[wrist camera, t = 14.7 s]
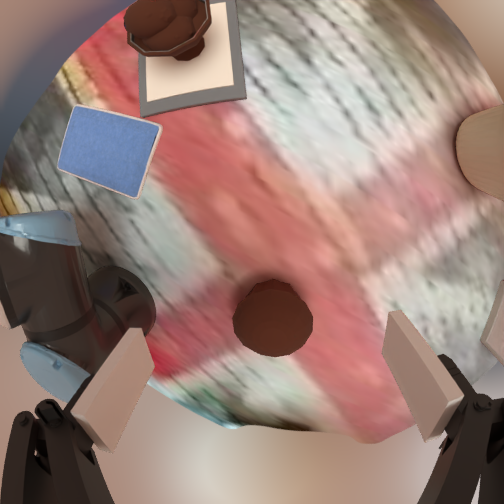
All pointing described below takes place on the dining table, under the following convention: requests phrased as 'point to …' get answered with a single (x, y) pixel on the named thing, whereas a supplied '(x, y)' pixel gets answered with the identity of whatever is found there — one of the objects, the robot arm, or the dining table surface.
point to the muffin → (273, 319)
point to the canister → (483, 150)
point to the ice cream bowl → (168, 27)
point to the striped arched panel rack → (496, 327)
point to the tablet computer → (109, 149)
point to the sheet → (194, 64)
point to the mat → (206, 95)
